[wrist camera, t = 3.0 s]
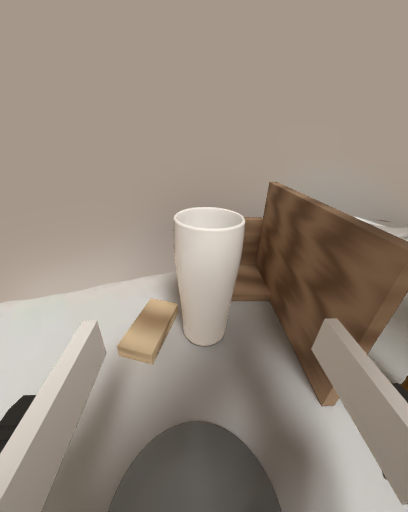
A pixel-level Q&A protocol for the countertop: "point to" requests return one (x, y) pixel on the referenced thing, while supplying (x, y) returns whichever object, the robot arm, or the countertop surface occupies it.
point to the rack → (320, 274)
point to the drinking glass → (207, 269)
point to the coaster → (195, 475)
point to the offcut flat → (148, 331)
